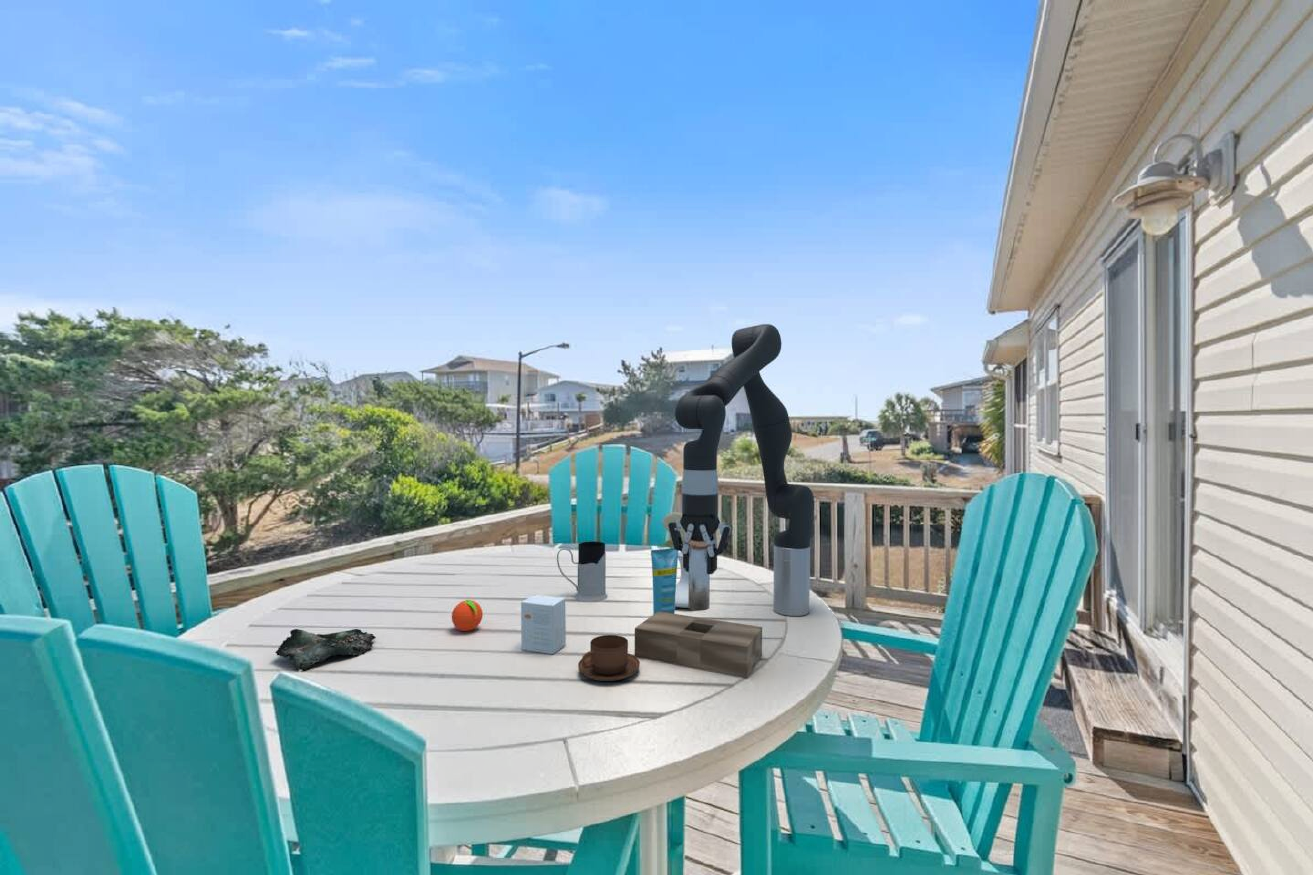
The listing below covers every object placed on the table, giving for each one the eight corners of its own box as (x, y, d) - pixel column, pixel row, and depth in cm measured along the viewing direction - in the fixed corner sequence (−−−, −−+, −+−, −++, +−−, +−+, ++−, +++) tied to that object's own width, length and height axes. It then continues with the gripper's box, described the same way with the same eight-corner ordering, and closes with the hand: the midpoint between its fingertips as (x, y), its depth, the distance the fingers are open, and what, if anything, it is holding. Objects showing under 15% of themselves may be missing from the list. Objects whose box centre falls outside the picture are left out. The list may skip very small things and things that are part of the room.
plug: (692, 602, 121) (692, 536, 121) (713, 605, 119) (714, 538, 119) (684, 608, 117) (684, 540, 117) (706, 612, 115) (706, 542, 115)
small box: (566, 645, 124) (566, 597, 123) (553, 655, 118) (553, 605, 118) (534, 640, 126) (534, 594, 126) (520, 650, 121) (520, 601, 121)
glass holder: (605, 602, 155) (605, 547, 154) (553, 601, 155) (553, 547, 154) (608, 592, 163) (608, 541, 163) (559, 592, 163) (559, 540, 163)
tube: (656, 634, 130) (657, 551, 130) (645, 628, 135) (646, 547, 134) (682, 628, 135) (683, 548, 134) (671, 622, 139) (671, 544, 138)
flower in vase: (713, 602, 154) (713, 511, 154) (693, 614, 145) (693, 517, 144) (672, 595, 161) (672, 508, 161) (650, 605, 152) (651, 512, 151)
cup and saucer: (615, 692, 102) (615, 659, 102) (565, 676, 108) (565, 645, 108) (651, 669, 112) (651, 638, 112) (603, 655, 118) (603, 626, 118)
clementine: (490, 631, 132) (490, 600, 132) (463, 639, 127) (463, 607, 127) (473, 622, 137) (473, 593, 137) (446, 630, 132) (446, 600, 132)
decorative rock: (349, 614, 132) (394, 619, 125) (349, 641, 131) (394, 647, 125) (263, 636, 114) (310, 643, 108) (262, 667, 114) (310, 676, 108)
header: (657, 637, 129) (658, 611, 128) (761, 655, 119) (762, 627, 119) (634, 656, 118) (634, 628, 118) (746, 678, 108) (747, 647, 108)
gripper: (738, 490, 118) (737, 571, 119) (675, 487, 124) (675, 564, 125) (727, 495, 111) (727, 580, 112) (661, 491, 117) (661, 572, 118)
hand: (699, 571), depth 118 cm, fingers closed on plug, 4 cm apart
